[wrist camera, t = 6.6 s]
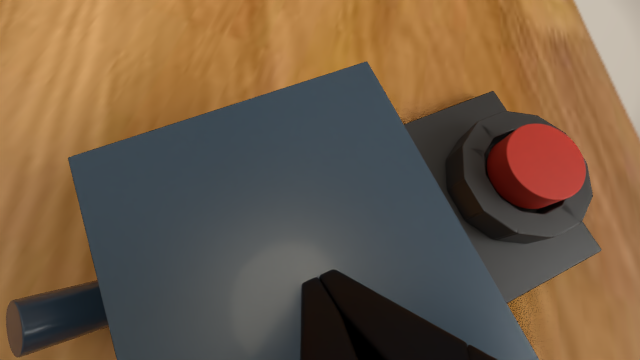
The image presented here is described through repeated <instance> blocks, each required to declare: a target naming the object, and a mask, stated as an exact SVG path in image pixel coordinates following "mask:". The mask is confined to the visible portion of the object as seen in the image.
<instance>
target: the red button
mask: <svg viewBox="0 0 640 360" xmlns="http://www.w3.org/2000/svg"><path fill="white" fill-rule="evenodd" d="M487 172H488V176H489V179H490V181H491V183H492V185H493V187H494V188H495V189H496V191H497V192H498V193H499V194H500V195H501V196H502V197H503V198H504V199H506V200H507V201H508V202H510V203H512V204H514V205H516V206H518V207H522V208H526V209H538V208H542V207H545V206H548V205H551V204H553V203H556V202H559V201H562V200H564V199H567V198H570V197H572V196H573V195H575V194H576V193H577V192H578V191H579V190H580V189H581V187H582V186H583V184H584V181H585V176H586V167H585V162H584V159H583V156H582V154H581V152H580V150H579V149H578V147H577V146H576V145H575V143H574V142H573V141H572V140H571V139H570V138H569V137H568V136H567V135H565V134H564V133H563V132H561V131H559V130H558V129H556V128H554V127H551V126H548V125H544V124H527V125H524V126H521V127H519V128H518V129H516V130H515V131H513V132H512V133H511V134H509V135H508V136H507V137H505V138H504V139H503V140H501V141H500V142H499V143H497V144H496V145H495V146H494V147H493V148H492V150H491V151H490V153H489V156H488V159H487Z"/></svg>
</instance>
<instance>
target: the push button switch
mask: <svg viewBox="0 0 640 360" xmlns="http://www.w3.org/2000/svg"><path fill="white" fill-rule="evenodd" d="M527 124H544V125H548V126H551V127H554V128H556V127H555V126H553V125H552V124H550V123H548V122H547V121H545V120H544V119H542V118H540V117H539V116H536V115H530V114H523V113H516V112H509V111H507V110H506V109H505V107H504V106H503V104H502V103H501V101H500V100H499V98H498V97H497V95H496V94H495V93H494V91H491V92H489V93H486V94H483V95H481V96H478V97H475V98H473V99H470V100H467V101H465V102H462V103H460V104H457V105H454V106H452V107H449V108H446V109H444V110H441V111H438V112H436V113H433V114H430V115H428V116H425V117H423V118H420V119H417V120H415V121H412V122H409V123H407V124H404V126H405V128H406V130H407V131H408V133H409V135H410V137H411V138H412V140H413V142H414V144H415V145H416V147H417V149H418V151H419V152H420V154H421V156H422V157H423V159H424V161H425V163H426V164H427V166H428V168H429V170H430V171H431V173H432V175H433V177H434V178H435V180H436V182H437V184H438V185H439V187H440V189H441V190H442V192H443V194H444V196H445V197H446V199H447V201H448V203H449V204H450V206H451V208H452V210H453V211H454V213H455V215H456V216H457V218H458V220H459V222H460V223H461V225H462V227H463V229H464V230H465V232H466V234H467V236H468V237H469V239H470V241H471V242H472V244H473V246H474V248H475V249H476V251H477V253H478V255H479V256H480V258H481V260H482V262H483V263H484V265H485V267H486V268H487V270H488V272H489V274H490V275H491V277H492V279H493V281H494V282H495V284H496V286H497V288H498V289H499V291H500V293H501V294H502V296H503V298H504V300H505V301H506V303H508V302H510V301H512V300H514V299H515V298H517V297H519V296H521V295H523V294H524V293H526V292H528V291H530V290H532V289H533V288H535V287H537V286H539V285H541V284H542V283H544V282H546V281H548V280H550V279H551V278H553V277H555V276H557V275H559V274H560V273H562V272H564V271H566V270H568V269H569V268H571V267H573V266H575V265H577V264H578V263H580V262H582V261H584V260H586V259H587V258H589V257H591V256H593V255H595V254H596V253H598V252H600V251H601V248H600V247H599V245H598V244H597V242H596V241H595V239H594V238H593V236H592V235H591V233H590V232H589V231H588V229H587V228H586V226H585V225H584V223H583V222H582V220H583V218H584V216H585V213H586V211H587V208H588V206H589V204H590V201H591V199H592V197H593V195H592V188H591V183H590V178H589V172H588V167H587V163H586V161H585V159H584V158H583V159H584V162H585V167H586V176H585V181H584V184H583V186H582V187H581V189H580V190H579V191H578V192H577V193H576V194H575V195H573V196H572V197H570V198H567V199H564V200H562V201H559V202H556V203H553V204H551V205H548V206H545V207H542V208H538V209H526V208H522V207H518V206H516V205H514V204H512V203H510V202H508V201H507V200H506V199H504V198H503V197H502V196H501V195H500V194H499V193H498V192H497V191H496V189H495V188H494V187H493V185H492V183H491V181H490V179H489V176H488V172H487V159H488V156H489V153H490V151H491V150H492V148H493V147H494V146H495V145H496V144H497V143H499V142H500V141H501V140H503V139H504V138H505V137H507V136H508V135H509V134H511V133H512V132H513V131H515V130H516V129H518V128H519V127H521V126H524V125H527ZM556 129H558V128H556ZM558 130H559V131H561V130H560V129H558ZM561 132H563V131H561ZM563 133H564V132H563ZM564 134H565V135H566V133H564Z"/></svg>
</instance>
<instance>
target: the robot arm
mask: <svg viewBox="0 0 640 360" xmlns="http://www.w3.org/2000/svg"><path fill="white" fill-rule="evenodd" d="M300 360H498V359H496V358H494V357H492V356H490V355H488V354H487V353H485V352H483V351H481V350H479V349H478V348H476V347H474V346H472V345H468V347H467V343H466V342H465V341H463V340H461V339H460V338H458V337H456V336H454V335H452V334H451V333H449V332H447V331H445V330H443V329H442V328H440V327H438V326H436V325H434V324H433V323H431V322H429V321H427V320H425V319H424V318H422V317H420V316H418V315H417V314H415V313H413V312H411V311H409V310H408V309H406V308H404V307H402V306H400V305H399V304H397V303H395V302H393V301H391V300H390V299H388V298H386V297H384V296H382V295H381V294H379V293H377V292H375V291H374V290H372V289H370V288H368V287H366V286H365V285H363V284H361V283H359V282H357V281H356V280H354V279H352V278H350V277H348V276H347V275H345V274H343V273H341V272H339V271H338V270H336V269H332V270H330V271H328V272H325V273H323V274H321V275H320V276H319V278H318V277H314V278H312V279H310V280H308V281H306V282H304V283H303V284H302V287H301V339H300Z"/></svg>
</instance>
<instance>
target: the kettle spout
mask: <svg viewBox="0 0 640 360" xmlns="http://www.w3.org/2000/svg"><path fill="white" fill-rule="evenodd" d="M107 327H109V325H108V321H107V317H106V313H105V308H104V304H103V300H102V296H101V292H100V288H99V284H98V280H96V281H92V282H88V283H83V284H79V285H75V286H71V287H66V288H62V289H58V290H54V291H49V292H45V293H41V294H36V295H32V296H28V297H24V298H19V299H15V300H12V301H10V303H9V305H8V308H7V313H6V328H7V336H8V341H9V345H10V348H11V351H12V353H13V354H14V356H15V357H22V356H25V355H28V354H31V353H34V352H37V351H39V350H42V349H45V348H48V347H51V346H54V345H57V344H60V343H63V342H66V341H69V340H72V339H74V338H77V337H80V336H83V335H86V334H89V333H92V332H95V331H98V330H101V329H104V328H107Z"/></svg>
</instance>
